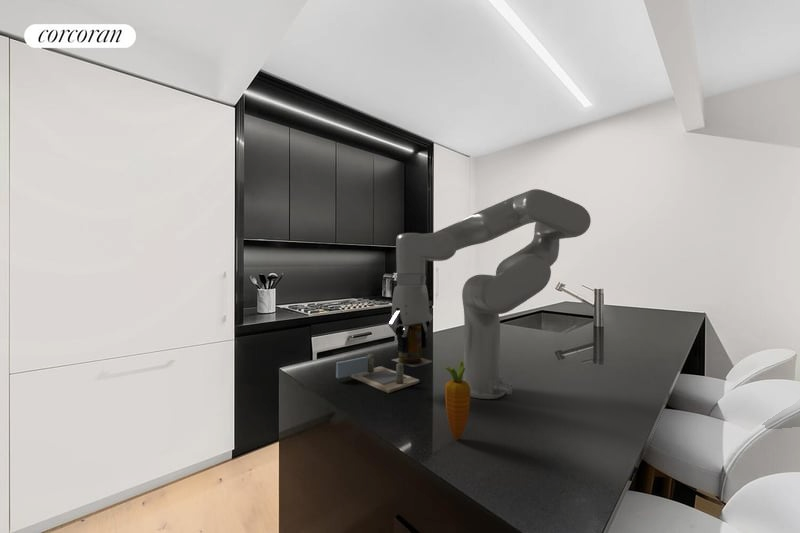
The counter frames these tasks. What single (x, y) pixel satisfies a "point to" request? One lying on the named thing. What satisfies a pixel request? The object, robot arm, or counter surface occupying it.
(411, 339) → the condiment
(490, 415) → the counter surface
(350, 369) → the panel
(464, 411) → the carrot
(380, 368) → the gate frame
